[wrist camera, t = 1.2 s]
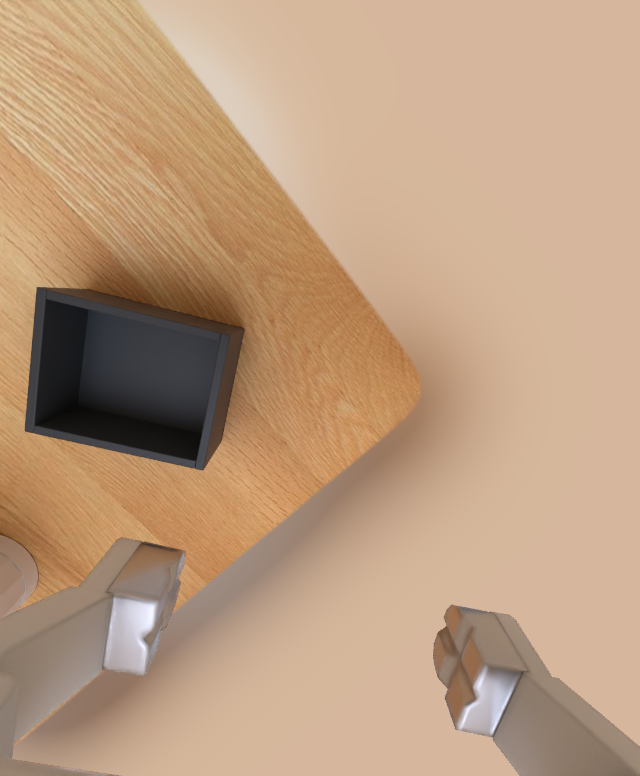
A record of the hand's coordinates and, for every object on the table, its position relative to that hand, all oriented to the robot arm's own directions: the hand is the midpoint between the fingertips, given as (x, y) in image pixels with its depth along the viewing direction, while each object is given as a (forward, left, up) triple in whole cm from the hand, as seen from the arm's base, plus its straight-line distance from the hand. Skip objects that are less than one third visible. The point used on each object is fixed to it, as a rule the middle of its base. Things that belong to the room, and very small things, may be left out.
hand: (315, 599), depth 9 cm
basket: (+10, -4, -17) cm, 20 cm away
